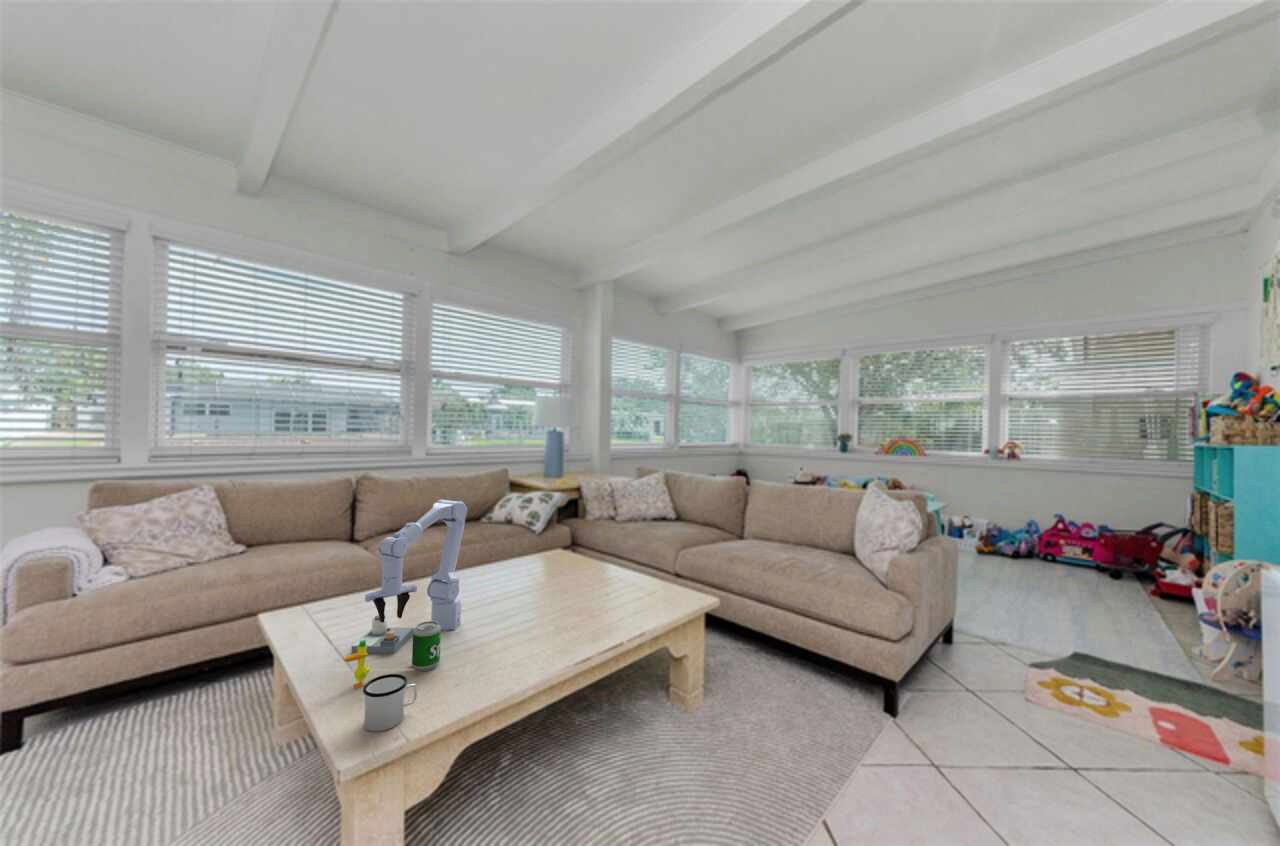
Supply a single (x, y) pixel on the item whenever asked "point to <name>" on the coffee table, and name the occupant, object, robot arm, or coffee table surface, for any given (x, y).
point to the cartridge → (379, 626)
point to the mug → (385, 701)
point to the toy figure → (359, 663)
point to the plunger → (390, 635)
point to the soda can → (426, 646)
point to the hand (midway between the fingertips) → (390, 619)
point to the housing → (384, 641)
